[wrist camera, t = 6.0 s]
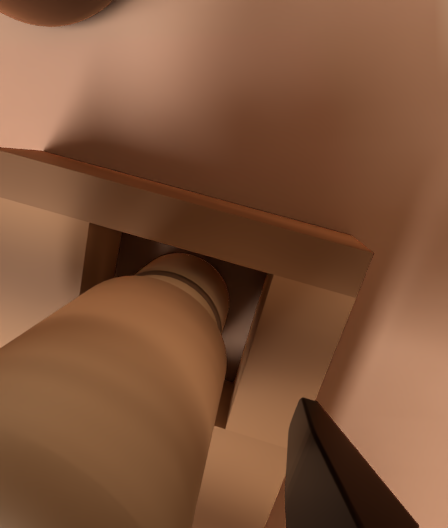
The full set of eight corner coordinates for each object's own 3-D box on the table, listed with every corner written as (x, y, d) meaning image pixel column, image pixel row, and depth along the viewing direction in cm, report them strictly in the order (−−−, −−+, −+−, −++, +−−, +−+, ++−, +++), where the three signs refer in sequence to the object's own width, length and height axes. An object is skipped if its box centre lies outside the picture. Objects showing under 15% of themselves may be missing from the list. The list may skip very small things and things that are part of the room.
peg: (223, 366, 13) (135, 733, 5) (116, 334, 13) (-157, 626, 5) (254, 261, 12) (211, 498, 3) (135, 227, 12) (-188, 367, 4)
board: (230, 562, 16) (223, 631, 14) (11, 488, 17) (-33, 542, 14) (352, 235, 11) (374, 253, 9) (41, 150, 12) (-17, 145, 9)
